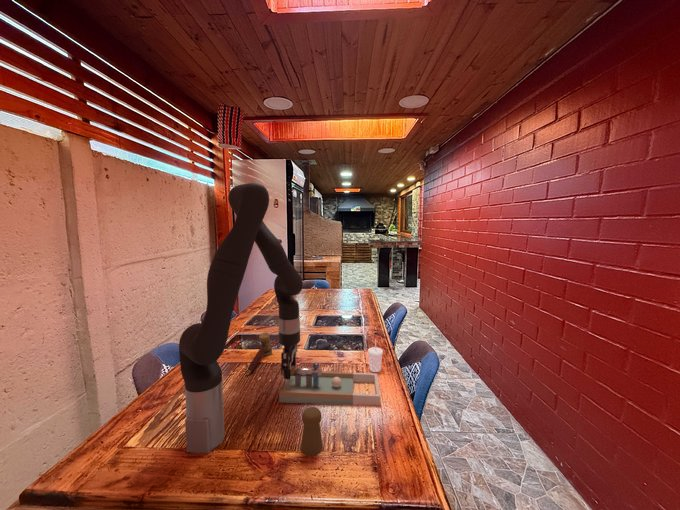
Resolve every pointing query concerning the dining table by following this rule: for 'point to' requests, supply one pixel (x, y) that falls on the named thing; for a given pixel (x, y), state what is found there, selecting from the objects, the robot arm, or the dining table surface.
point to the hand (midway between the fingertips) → (290, 372)
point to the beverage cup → (375, 358)
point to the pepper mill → (311, 432)
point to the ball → (336, 381)
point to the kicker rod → (307, 372)
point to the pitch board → (329, 389)
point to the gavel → (261, 351)
